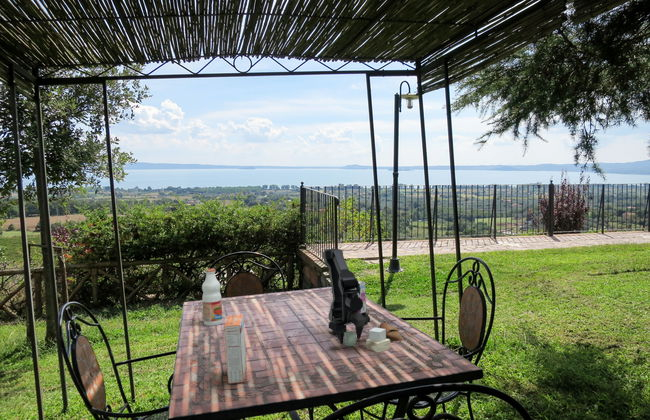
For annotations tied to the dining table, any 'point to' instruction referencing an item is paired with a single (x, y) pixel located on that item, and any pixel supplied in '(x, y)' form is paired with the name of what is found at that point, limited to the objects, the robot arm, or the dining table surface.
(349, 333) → the mint green cylinder
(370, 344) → the birch base block
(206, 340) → the dining table surface
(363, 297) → the candy bar box
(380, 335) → the grey top block
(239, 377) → the cracker box
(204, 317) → the fruit juice
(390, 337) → the sunglasses case
